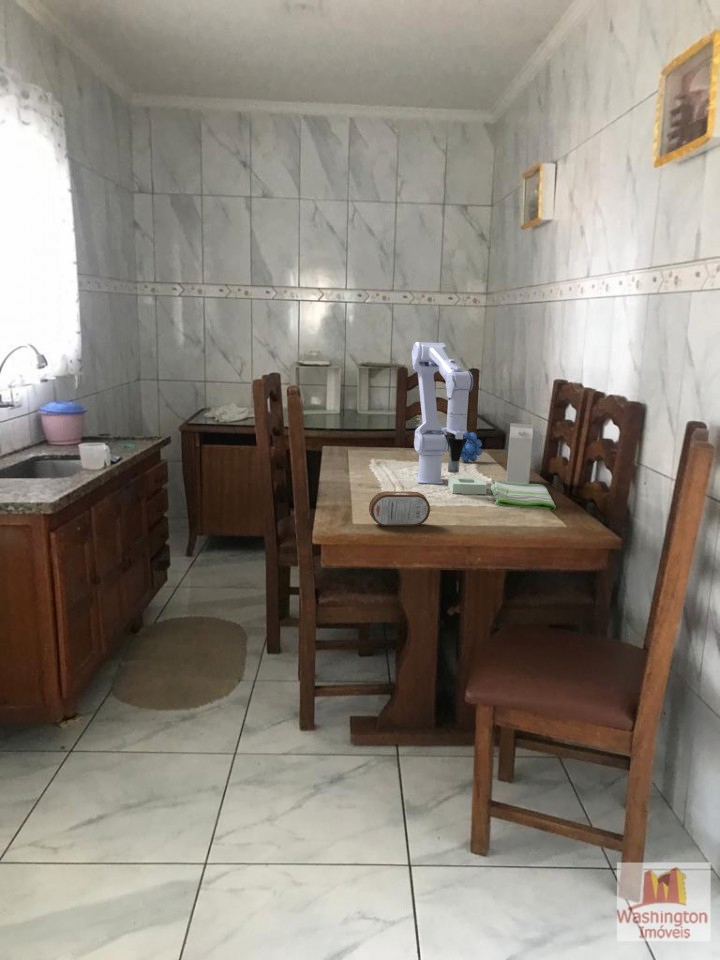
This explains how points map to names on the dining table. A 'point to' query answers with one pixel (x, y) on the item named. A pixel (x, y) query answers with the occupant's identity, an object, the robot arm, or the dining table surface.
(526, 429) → the milk carton
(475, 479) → the socket
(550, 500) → the dish towel
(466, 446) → the grapes
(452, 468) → the peg
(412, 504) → the tin
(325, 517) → the dining table surface
